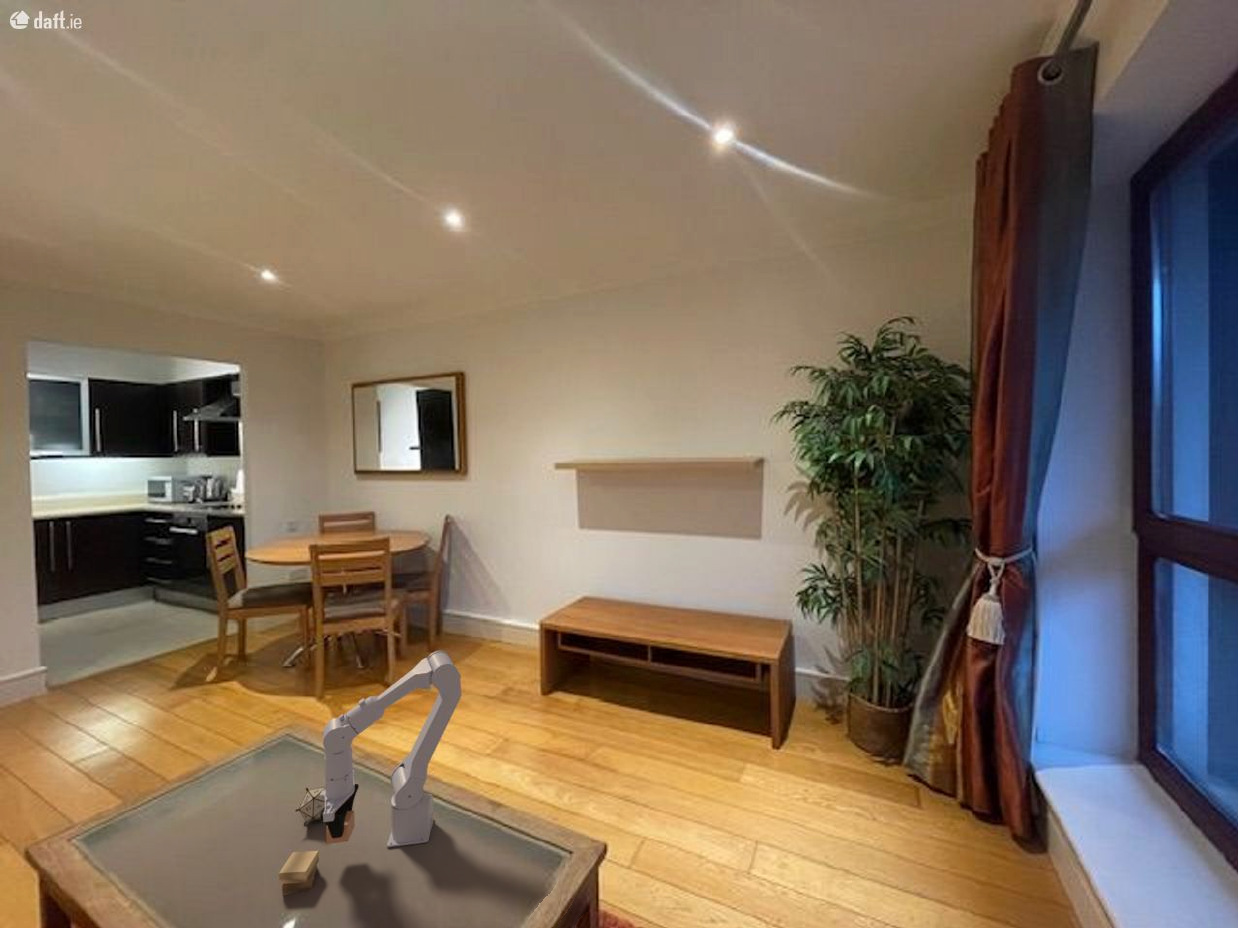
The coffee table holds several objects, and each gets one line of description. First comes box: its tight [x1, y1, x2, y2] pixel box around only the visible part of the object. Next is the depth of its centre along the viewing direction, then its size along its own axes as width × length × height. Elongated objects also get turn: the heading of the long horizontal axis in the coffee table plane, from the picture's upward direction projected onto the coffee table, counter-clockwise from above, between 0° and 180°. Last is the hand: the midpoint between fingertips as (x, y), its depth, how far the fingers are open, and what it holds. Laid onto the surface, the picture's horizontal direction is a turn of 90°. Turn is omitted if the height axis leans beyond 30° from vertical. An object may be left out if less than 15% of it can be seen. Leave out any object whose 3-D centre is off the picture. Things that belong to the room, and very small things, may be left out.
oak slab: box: [278, 850, 320, 885], centre depth 114 cm, size 6×6×2 cm
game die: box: [294, 786, 325, 826], centre depth 132 cm, size 9×8×10 cm
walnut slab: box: [281, 864, 318, 896], centre depth 114 cm, size 6×6×2 cm
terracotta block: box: [325, 809, 356, 845], centre depth 120 cm, size 4×4×4 cm
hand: (341, 827), depth 120 cm, fingers closed on terracotta block, 4 cm apart
